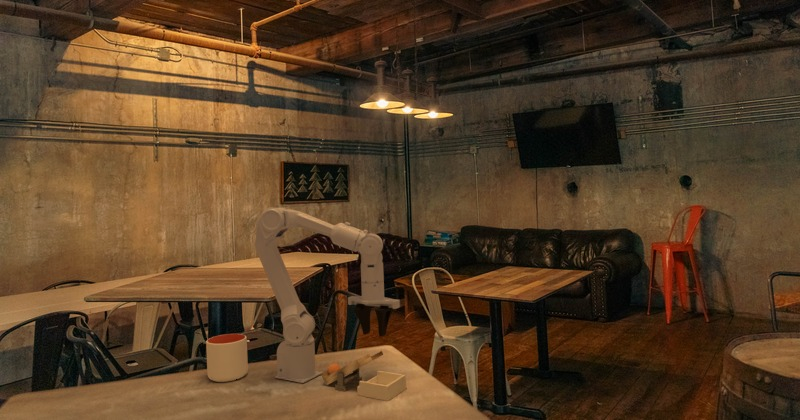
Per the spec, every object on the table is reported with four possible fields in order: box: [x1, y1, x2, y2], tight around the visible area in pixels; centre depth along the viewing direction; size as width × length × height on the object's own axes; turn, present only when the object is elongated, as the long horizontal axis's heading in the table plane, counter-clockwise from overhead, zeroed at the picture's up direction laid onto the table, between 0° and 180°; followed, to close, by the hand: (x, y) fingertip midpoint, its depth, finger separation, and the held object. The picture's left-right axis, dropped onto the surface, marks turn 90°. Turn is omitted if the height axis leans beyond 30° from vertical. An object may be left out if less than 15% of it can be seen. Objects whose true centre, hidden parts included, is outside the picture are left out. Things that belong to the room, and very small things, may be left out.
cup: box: [205, 333, 249, 383], centre depth 132 cm, size 10×10×10 cm
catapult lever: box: [321, 350, 384, 386], centre depth 125 cm, size 12×10×3 cm
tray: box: [356, 370, 407, 402], centre depth 118 cm, size 8×8×3 cm
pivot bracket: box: [334, 368, 363, 392], centre depth 123 cm, size 3×7×4 cm, turn 150°
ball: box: [327, 362, 341, 375], centre depth 125 cm, size 3×3×3 cm
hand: (374, 334), depth 129 cm, fingers open, 4 cm apart
